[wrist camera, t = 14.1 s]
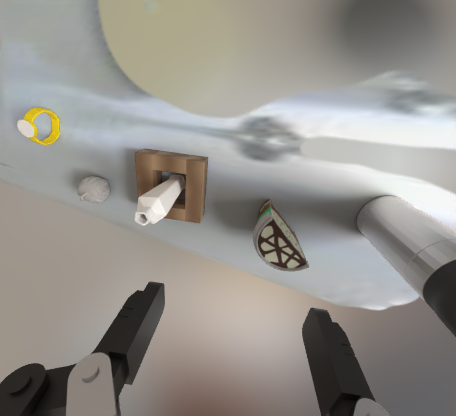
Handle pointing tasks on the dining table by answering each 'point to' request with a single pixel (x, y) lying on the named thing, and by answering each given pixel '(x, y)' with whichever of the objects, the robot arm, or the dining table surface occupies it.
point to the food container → (277, 241)
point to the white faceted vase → (159, 200)
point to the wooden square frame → (178, 163)
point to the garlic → (93, 189)
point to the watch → (31, 130)
